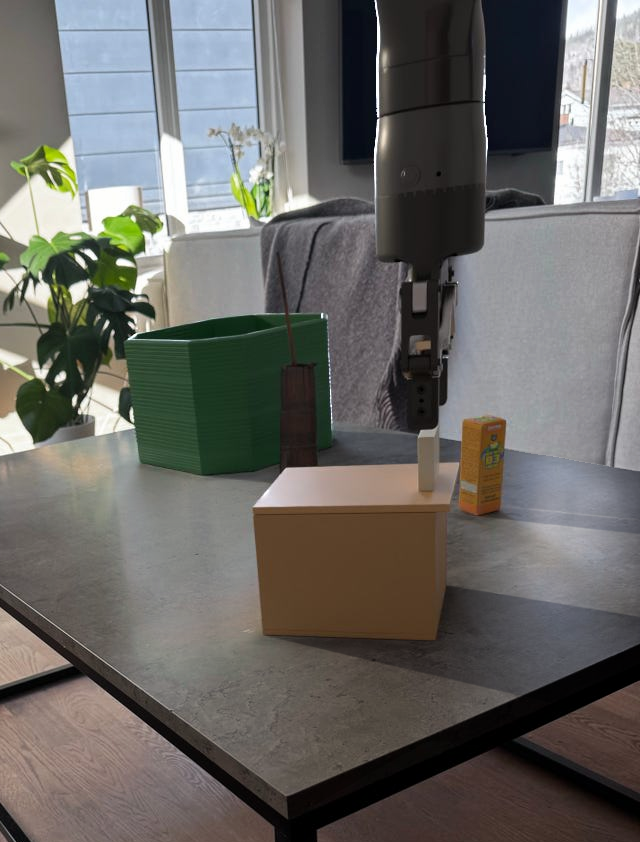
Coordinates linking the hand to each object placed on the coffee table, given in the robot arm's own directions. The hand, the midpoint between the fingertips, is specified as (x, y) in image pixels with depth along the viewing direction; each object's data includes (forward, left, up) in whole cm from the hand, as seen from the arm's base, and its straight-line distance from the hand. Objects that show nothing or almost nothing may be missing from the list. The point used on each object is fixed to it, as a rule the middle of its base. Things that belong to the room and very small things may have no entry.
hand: (428, 416), depth 71 cm
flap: (+5, 0, -6) cm, 8 cm away
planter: (+34, -61, -17) cm, 72 cm away
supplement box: (-3, -28, -17) cm, 33 cm away
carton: (+6, 0, -16) cm, 17 cm away
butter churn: (+19, -42, -17) cm, 49 cm away
